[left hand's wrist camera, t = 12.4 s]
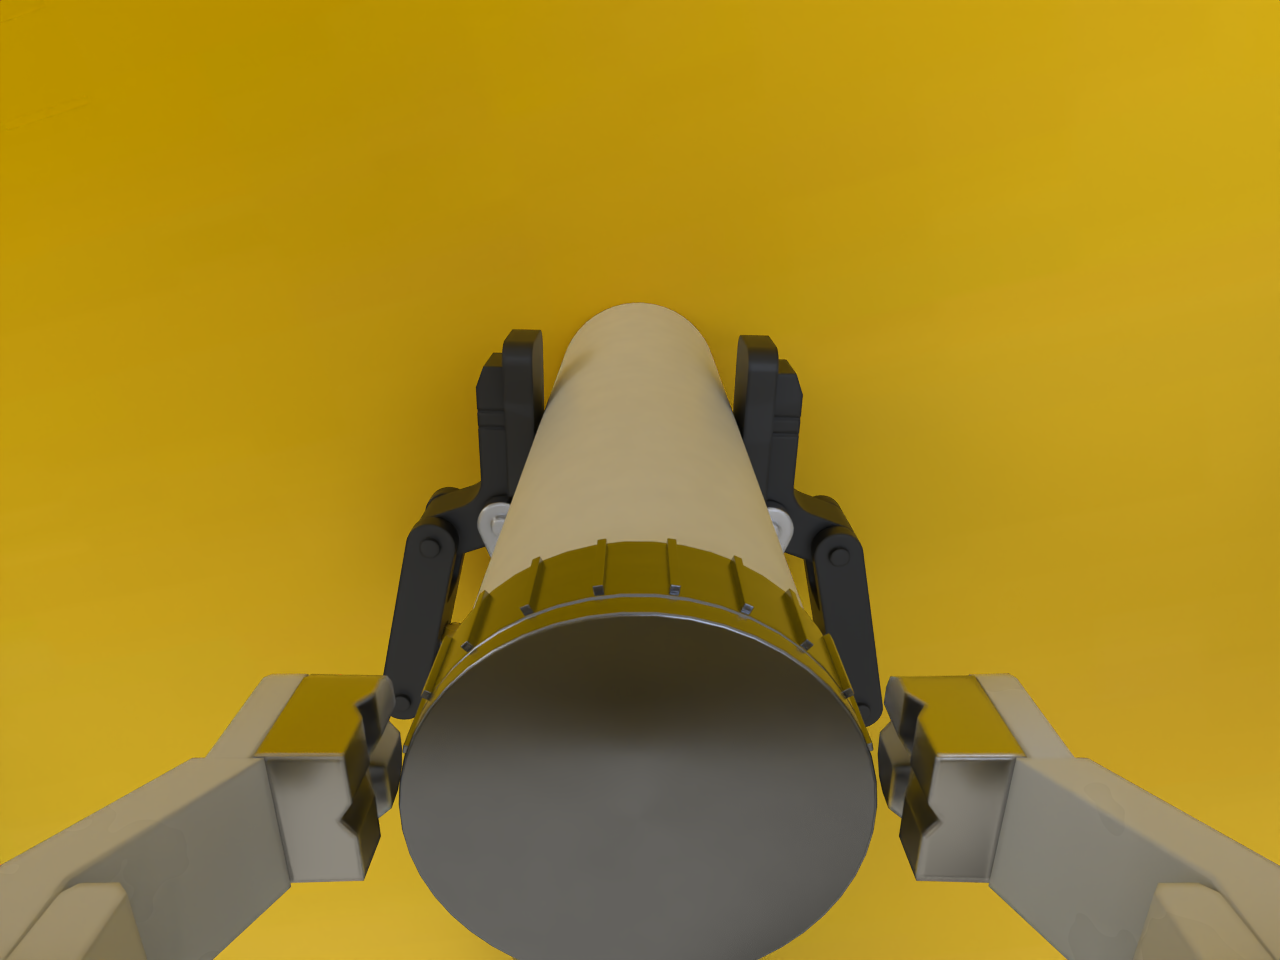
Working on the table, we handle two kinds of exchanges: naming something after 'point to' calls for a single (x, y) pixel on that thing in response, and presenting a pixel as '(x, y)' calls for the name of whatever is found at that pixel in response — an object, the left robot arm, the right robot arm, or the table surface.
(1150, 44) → the table surface
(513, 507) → the cream cylinder
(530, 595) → the lid
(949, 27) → the table surface
